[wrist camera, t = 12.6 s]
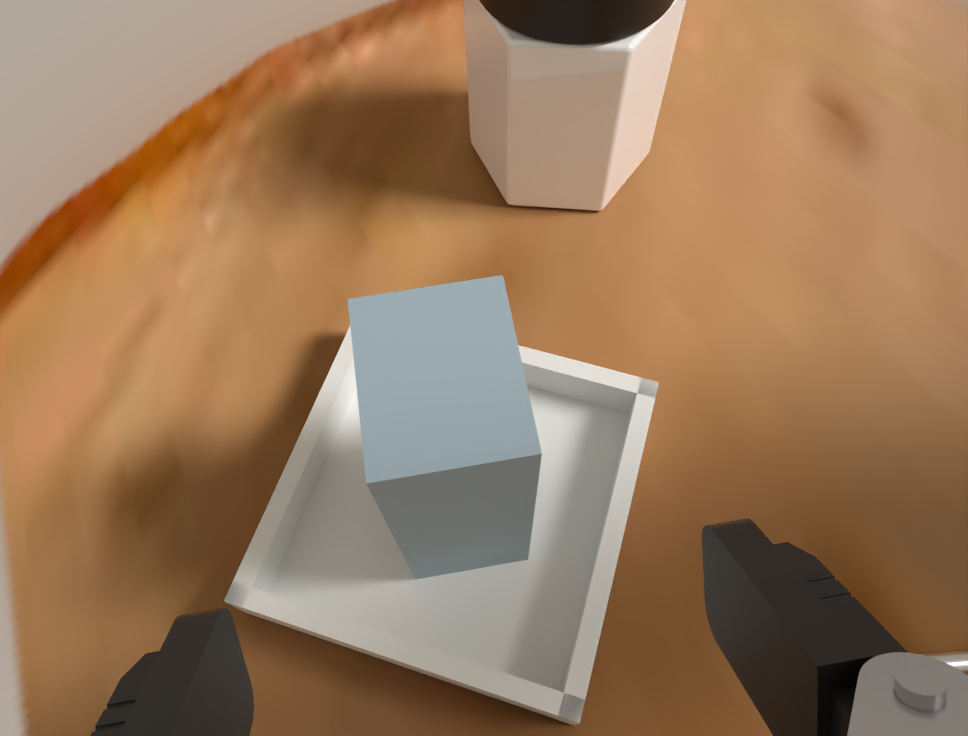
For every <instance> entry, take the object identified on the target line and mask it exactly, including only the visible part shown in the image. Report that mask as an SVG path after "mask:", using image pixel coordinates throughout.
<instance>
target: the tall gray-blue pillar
mask: <svg viewBox="0 0 968 736" xmlns="http://www.w3.org/2000/svg"><path fill="white" fill-rule="evenodd" d="M348 307H349V317H350V327H351V337H352V347H353V357H354V367H355V377H356V387H357V397H358V407H359V416H360V426H361V436H362V446H363V456H364V466H365V476H366V484H367V486H368V488H369V490H370V492H371V494H372V496H373V498H374V500H375V501H376V503H377V505H378V507H379V509H380V511H381V513H382V515H383V517H384V519H385V521H386V523H387V525H388V527H389V529H390V531H391V533H392V535H393V537H394V538H395V540H396V542H397V544H398V546H399V548H400V550H401V552H402V554H403V556H404V558H405V560H406V562H407V564H408V566H409V568H410V570H411V572H412V573H413V575H414V577H415V579H421V578H427V577H433V576H438V575H444V574H450V573H455V572H461V571H467V570H472V569H478V568H483V567H489V566H495V565H500V564H506V563H512V562H517V561H523V560H528V557H529V549H530V541H531V534H532V526H533V518H534V511H535V503H536V495H537V488H538V480H539V472H540V465H541V457H542V452H541V447H540V443H539V438H538V434H537V429H536V425H535V420H534V415H533V411H532V406H531V402H530V397H529V393H528V388H527V384H526V379H525V374H524V370H523V365H522V361H521V356H520V352H519V347H518V343H517V338H516V333H515V329H514V324H513V320H512V315H511V311H510V306H509V302H508V297H507V292H506V288H505V283H504V279H503V275H500V276H494V277H487V278H481V279H474V280H468V281H462V282H455V283H449V284H442V285H436V286H429V287H423V288H416V289H410V290H404V291H397V292H391V293H384V294H378V295H371V296H365V297H358V298H352V299H348Z"/></svg>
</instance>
